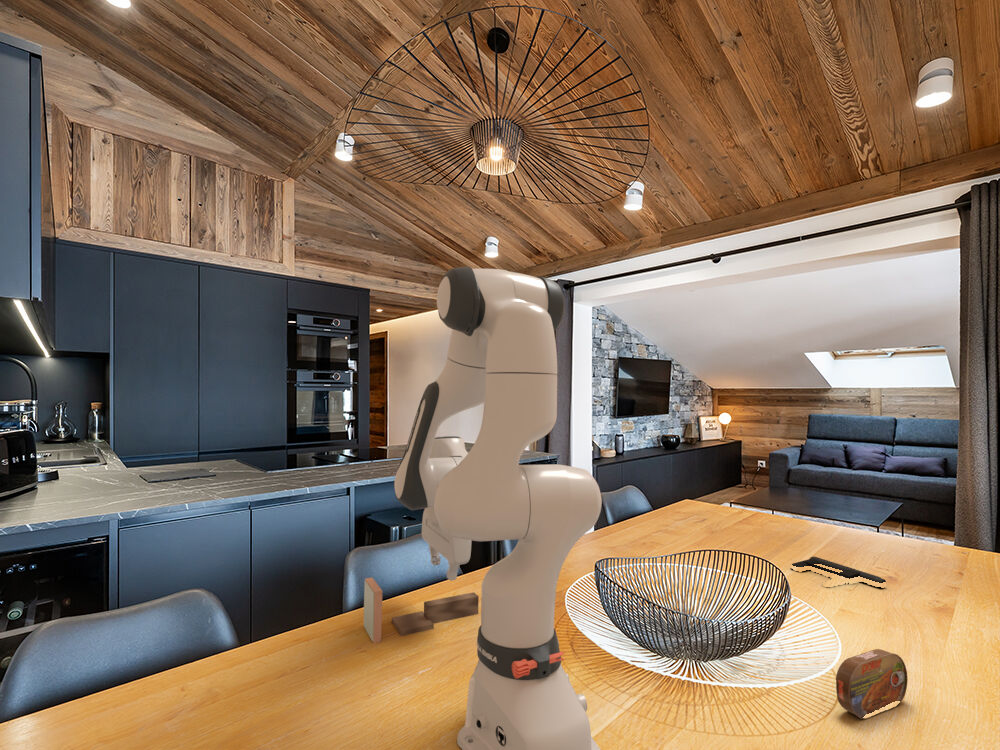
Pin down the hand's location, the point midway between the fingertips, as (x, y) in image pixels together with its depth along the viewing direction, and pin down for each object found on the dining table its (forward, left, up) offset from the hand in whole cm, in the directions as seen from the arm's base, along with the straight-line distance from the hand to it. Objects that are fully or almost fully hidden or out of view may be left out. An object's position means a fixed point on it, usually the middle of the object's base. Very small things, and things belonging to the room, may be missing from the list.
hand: (443, 571), depth 112 cm
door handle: (-25, -105, -11) cm, 109 cm away
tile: (-1, +16, -10) cm, 19 cm away
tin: (-61, -50, -10) cm, 80 cm away
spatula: (-1, +1, -10) cm, 10 cm away
